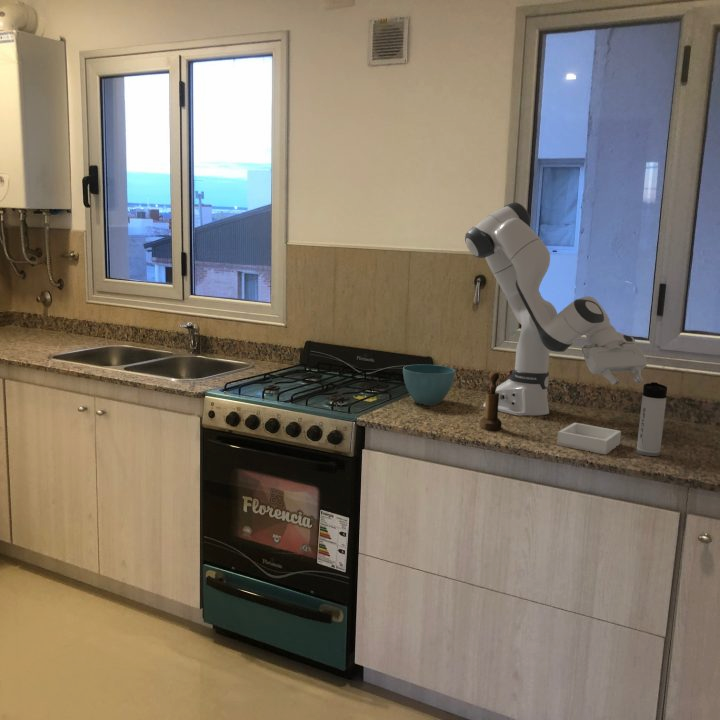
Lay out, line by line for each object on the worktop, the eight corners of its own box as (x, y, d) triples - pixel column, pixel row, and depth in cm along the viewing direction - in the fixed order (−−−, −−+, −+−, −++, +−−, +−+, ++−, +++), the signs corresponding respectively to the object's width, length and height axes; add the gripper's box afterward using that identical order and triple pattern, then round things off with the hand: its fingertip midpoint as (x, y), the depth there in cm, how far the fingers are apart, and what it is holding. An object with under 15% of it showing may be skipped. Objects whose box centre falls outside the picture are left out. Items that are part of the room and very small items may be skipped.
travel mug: (658, 451, 212) (666, 383, 209) (661, 457, 206) (669, 387, 202) (635, 448, 214) (642, 381, 210) (637, 455, 207) (644, 385, 204)
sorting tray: (556, 444, 215) (558, 431, 214) (573, 435, 226) (574, 422, 225) (605, 454, 207) (606, 440, 206) (619, 444, 218) (621, 431, 217)
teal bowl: (390, 400, 262) (392, 366, 260) (425, 394, 274) (427, 362, 272) (428, 411, 249) (430, 375, 247) (463, 404, 261) (465, 370, 259)
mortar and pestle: (475, 427, 231) (479, 370, 228) (487, 424, 235) (491, 368, 232) (493, 431, 226) (497, 374, 223) (505, 428, 231) (509, 371, 228)
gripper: (585, 339, 214) (607, 378, 207) (637, 337, 223) (659, 374, 216) (573, 351, 219) (594, 391, 212) (624, 349, 228) (646, 386, 221)
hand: (627, 382), depth 214 cm, fingers open, 8 cm apart
